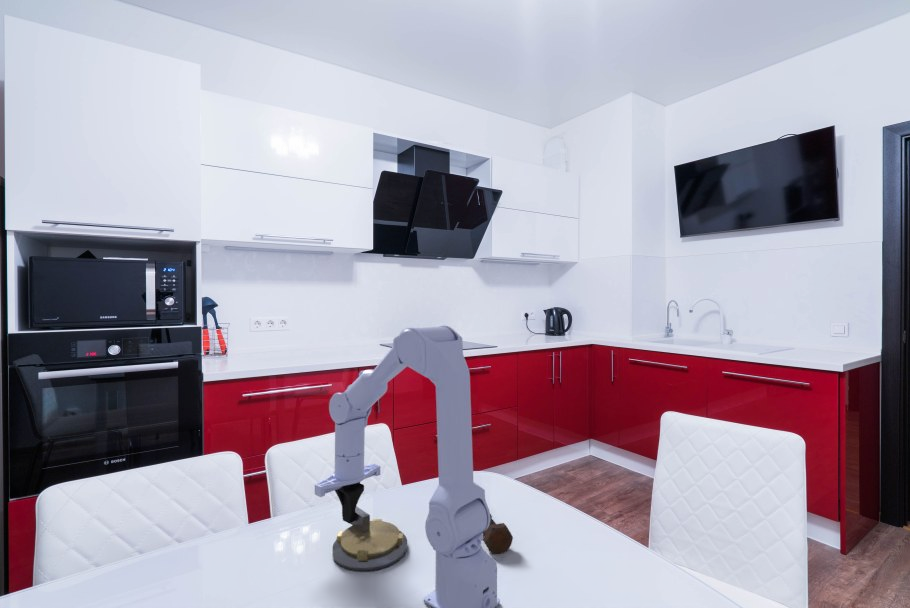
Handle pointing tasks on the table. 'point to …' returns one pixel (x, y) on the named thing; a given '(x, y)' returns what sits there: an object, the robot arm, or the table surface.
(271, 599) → the table surface
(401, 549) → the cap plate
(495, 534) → the bolt
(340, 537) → the tabbed brass dial
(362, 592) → the table surface
